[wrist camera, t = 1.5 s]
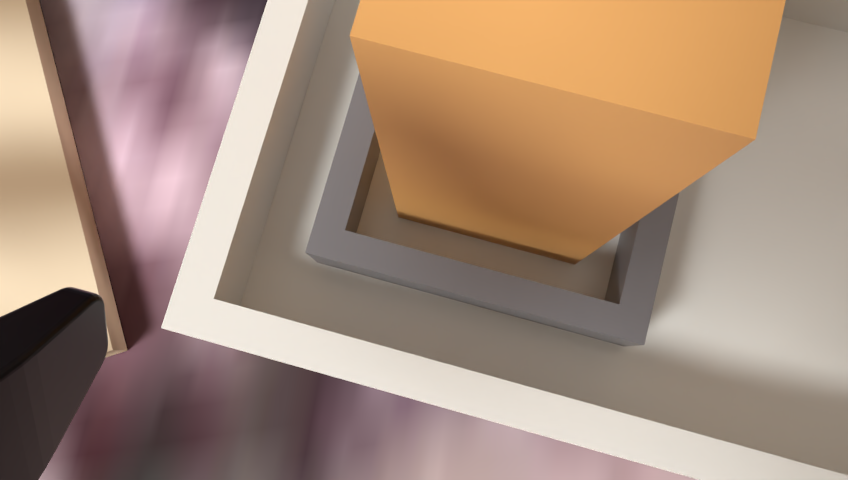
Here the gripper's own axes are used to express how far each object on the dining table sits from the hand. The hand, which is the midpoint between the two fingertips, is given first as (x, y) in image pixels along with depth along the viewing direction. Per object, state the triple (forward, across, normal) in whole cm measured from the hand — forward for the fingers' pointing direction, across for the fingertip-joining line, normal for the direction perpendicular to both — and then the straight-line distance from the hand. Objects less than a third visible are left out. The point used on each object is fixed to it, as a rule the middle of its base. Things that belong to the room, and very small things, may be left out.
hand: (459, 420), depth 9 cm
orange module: (+13, 0, +4) cm, 13 cm away
